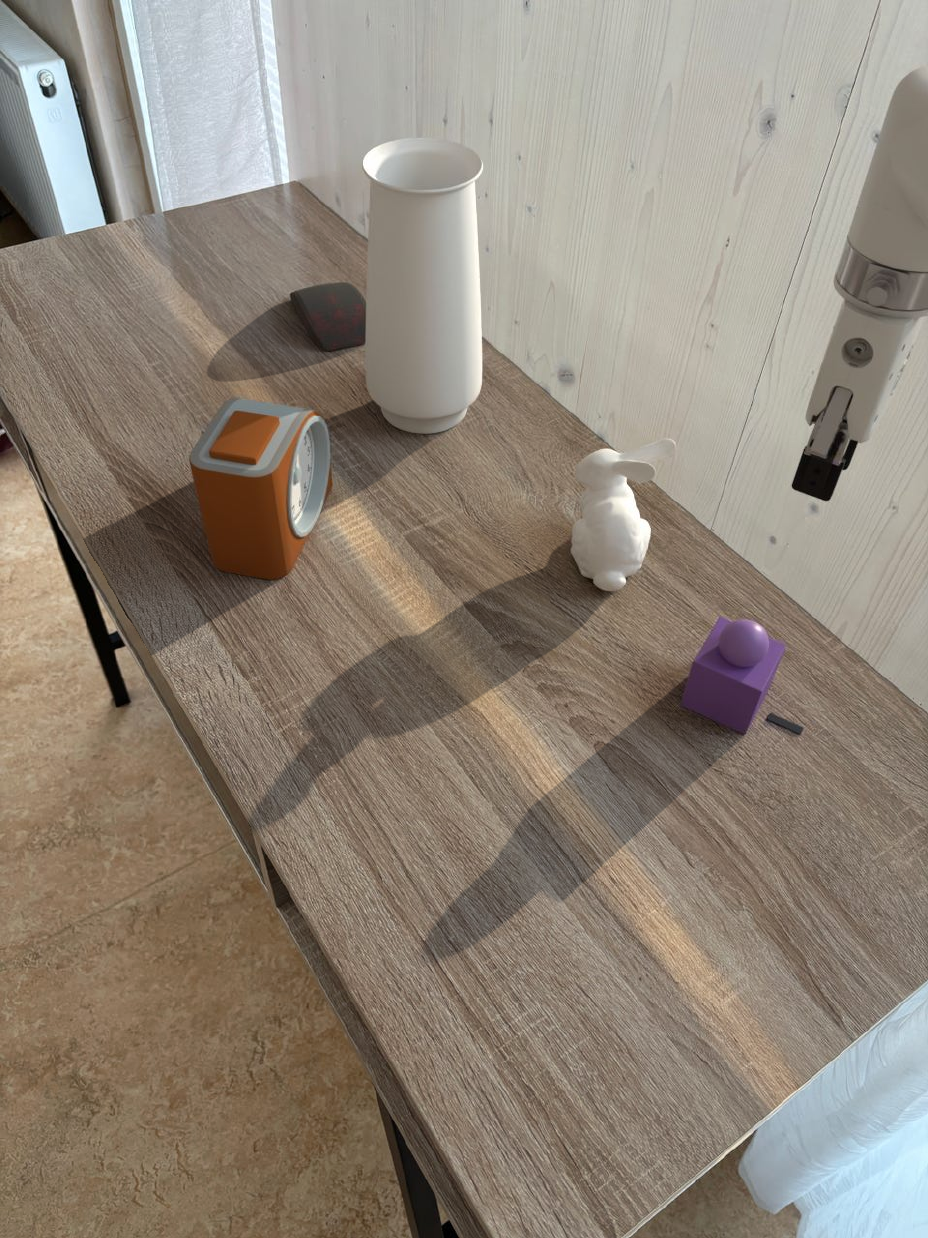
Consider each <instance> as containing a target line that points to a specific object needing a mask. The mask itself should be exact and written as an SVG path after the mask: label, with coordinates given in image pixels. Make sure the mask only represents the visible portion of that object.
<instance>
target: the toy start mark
mask: <svg viewBox="0 0 928 1238" xmlns="http://www.w3.org/2000/svg"><path fill="white" fill-rule="evenodd" d="M766 720H767V721H768V722H771V723H774V724H776V725H777V726H779V727H783V728H785V729H787V730H789V731H791V732H793V733H796V734H798V735H802V733H803V731H804V729H805V727H803V726H801V725H799V724H797V723H794V722H793V721H789V720H788V719H785V718H784V717H781V716H779V715H776V714H775V713H772V712H770V713H769V715H768V716H767V719H766Z"/></svg>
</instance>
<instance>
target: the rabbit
mask: <svg viewBox="0 0 928 1238" xmlns="http://www.w3.org/2000/svg"><path fill="white" fill-rule="evenodd" d="M677 450H678V449H677V444H676V442H675V441H674V440H673V439H671V438H667V437H665V438H662V439H659V440H657V441H655V442H652V443H648V444H646V445H642V446H640V447H637V448H634V449H632V450H630V451H626V452H624V453H623V452H622V453H620V452H619V451H616V450H613V449H611V448H600V449H598V450H595V451H593V452H591V453H589V454H587V455H586V456H585V457H583V458H582V459H581V460H580V461H579V462H578V463H577V464H576V466H575V480H576V482H577V483H579V484H581V485H583V486H586V487H585V489H584V490H583V491H582V494H581V497H580V499H579V505H580V506H579V511H580V516H581V518H579V519H578V520H576V521H575V522H574V523H573V525H572V527H571V531H572V532H571V548H570V554H571V555H572V557H573V560H574V561H575V563H576V565H577V567H578V570H579V572H580V575H582V577H584V578H588V579H592V580H593V581H592V583H593V585H595V586H596V587H597V588H598V589H600V590H602V591H605V592H617V591H620V590H621V589H622V588H624V586H625V585H626V584H627V580H626V578H629V577H632V576H634V575H635V574H637V572H638V571H639V570H640V569H641V568H642V565H643V562H644V559H645V557H646V554H647V551H648V548H649V544H650V543H649V542H650V540H651V533H652V530H651V526H650V523H649V522H648V521H647V520H646V519H643V518H642V517H641V515H640V511H639V509H638V507H637V502H636V499H635V495H634V492H633V490H632V488H631V487H630V485H629V484H627V481H628V480H630V481H632V482H634V483H647V482H649V481H651V480H653V479H654V478H655V477H656V474H657V471H656V468H655V467H654V465H653V464H651V463H653V462H659V461H663V460H667V459H670V458H672V457H673V456H674V455H676V453H677Z"/></svg>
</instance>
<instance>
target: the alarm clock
mask: <svg viewBox="0 0 928 1238" xmlns="http://www.w3.org/2000/svg"><path fill="white" fill-rule="evenodd" d="M188 461H189V465H190V471H191V475H192V479H193V484H194V489H195V492H196V497H197V502H198V506H199V510H200V516H201V519H202V525H203V528H204V533H205V538H206V541H207V546H208V551H209V554H210V560H211V562H212V565H213V566H214V567H215V568H216V569H218V570H219V571H222V572H225V573H230V574H236V575H239V576H240V575H241V576H246V577H251V578H257V579H263V580H271V581H272V580H279V579H281V578H284V577H285V576H287V575H289V574H290V573H291V572H292V570H293V569H294V566H295V565H296V563H297V560H298V559H299V557H300V555H301V552H302V550H303V548H304V546H305V544H306V542H307V540H308V538H309V536H310V534H311V532H312V531H313V528H314V527H315V525H316V523H317V521H318V519H319V516H320V514H321V511H322V509H323V507H324V504H325V503H326V500H327V498H328V496H329V494H330V492H331V490H332V488H333V486H334V485H333V475H332V464H331V442H330V434H329V429H328V426H327V424H326V420H325V418H324V416H323V414H322V413H321V412H319V410H316V409H311V408H305V407H298V406H291V405H286V404H278V403H274V402H273V403H272V402H266V401H260V400H253V399H248V398H241V397H231V398H229V399H228V400H225V401H224V402H223V404H222V405H221V406H220V407H219V409H217V411H216V413H215V414H214V416H213V417H212V419H211V421H210V422H209V423H208V425H207V427H206V428H205V430H204V431H203V433H202V434H201V436H200V437H199V439H198V441H197V442H196V443H195V445H194V446H193V448H192V450H191V451H190V454H189V456H188Z"/></svg>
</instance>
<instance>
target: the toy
mask: <svg viewBox="0 0 928 1238" xmlns="http://www.w3.org/2000/svg"><path fill="white" fill-rule="evenodd" d="M786 648H787V644H786V643H784V642H781V641H779V640H776V639H774V638H772V637H770V636H768V633H767V631H766V629H765V628H764V627H763V626H762V625H761V624H759V623H758V622H757V621H755V620H751V619H748V618H741V619H736V620H734V621H732V620H729V619H727V618H724V617H722V616H719V618H718V619H717V620H716V622H715V623H714V625H713V628H712V629H711V631H710V632H709V634H708V636H707V637H706V639H705V641H704V642H703V645H702V646H701V647H700V649H699V651H698V653H697V654H696V656H695V658H694V659H693V661H692V664H691V668H690V671H689V674H688V677H687V680H686V684H685V688H684V691H683V694H682V698H681V702H680V706H681V707H684V708H686V709H687V710H690V711H692V712H694V713H697V714H699V715H701V716H703V717H705V718H707V719H710V720H712V721H714V722H716V723H718V724H720V725H721V726H725V727H727V728H729V729H730V730H731V729H732V730H733V731H735V732H738V733H740V734H742V735H744V736H745V735H746V734H747V733H748V731H749V729H750V727H751V725H752V723H753V722H754V719H755V717H756V716H757V713H758V711H759V709H760V708H761V706H762V704H763V702H764V700H765V698H766V696H767V694H768V692H769V690H770V688H771V686H772V683H773V681H774V678H775V676H776V673H777V671H778V668H779V665H780V663H781V660H782V658H783V656H784V653H785V650H786Z"/></svg>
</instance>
